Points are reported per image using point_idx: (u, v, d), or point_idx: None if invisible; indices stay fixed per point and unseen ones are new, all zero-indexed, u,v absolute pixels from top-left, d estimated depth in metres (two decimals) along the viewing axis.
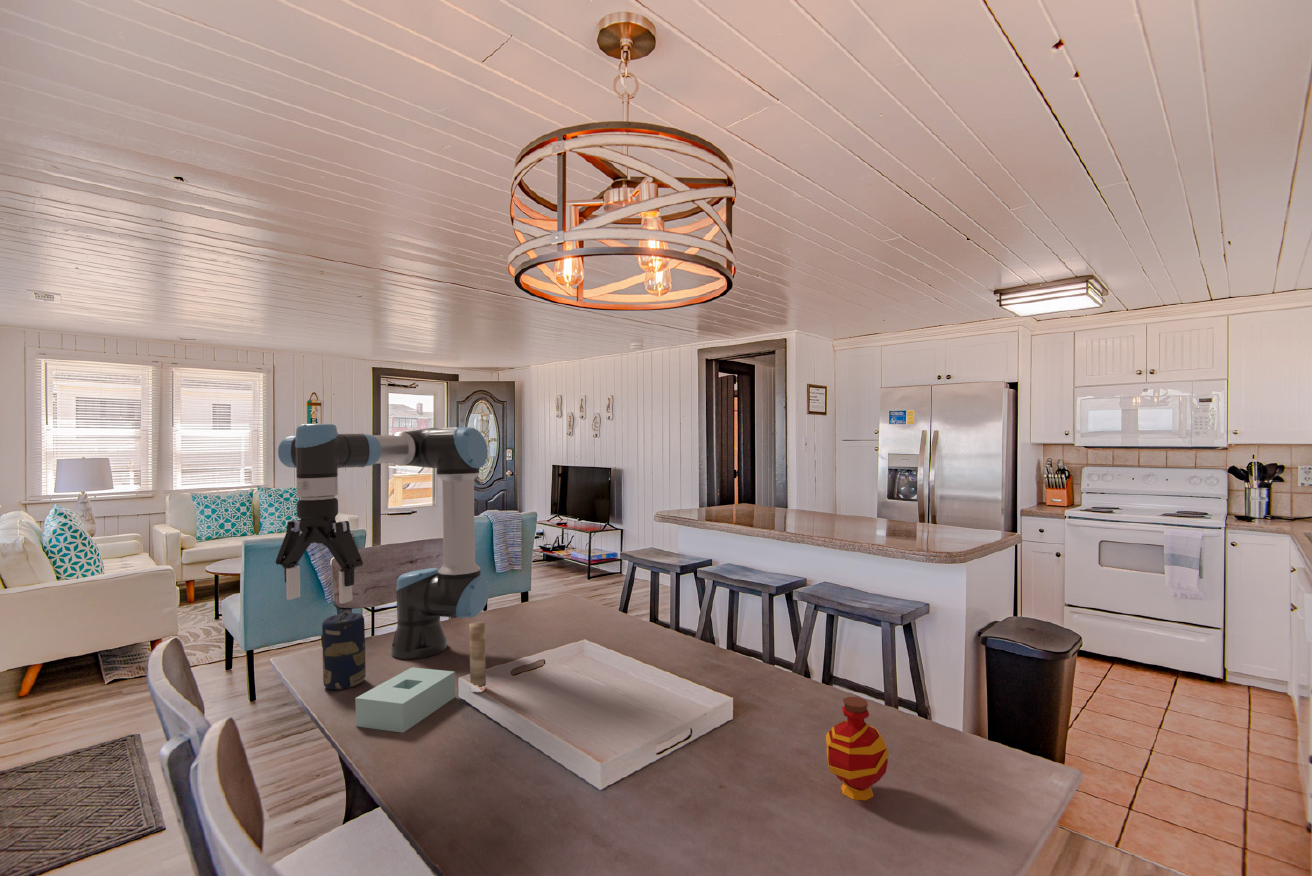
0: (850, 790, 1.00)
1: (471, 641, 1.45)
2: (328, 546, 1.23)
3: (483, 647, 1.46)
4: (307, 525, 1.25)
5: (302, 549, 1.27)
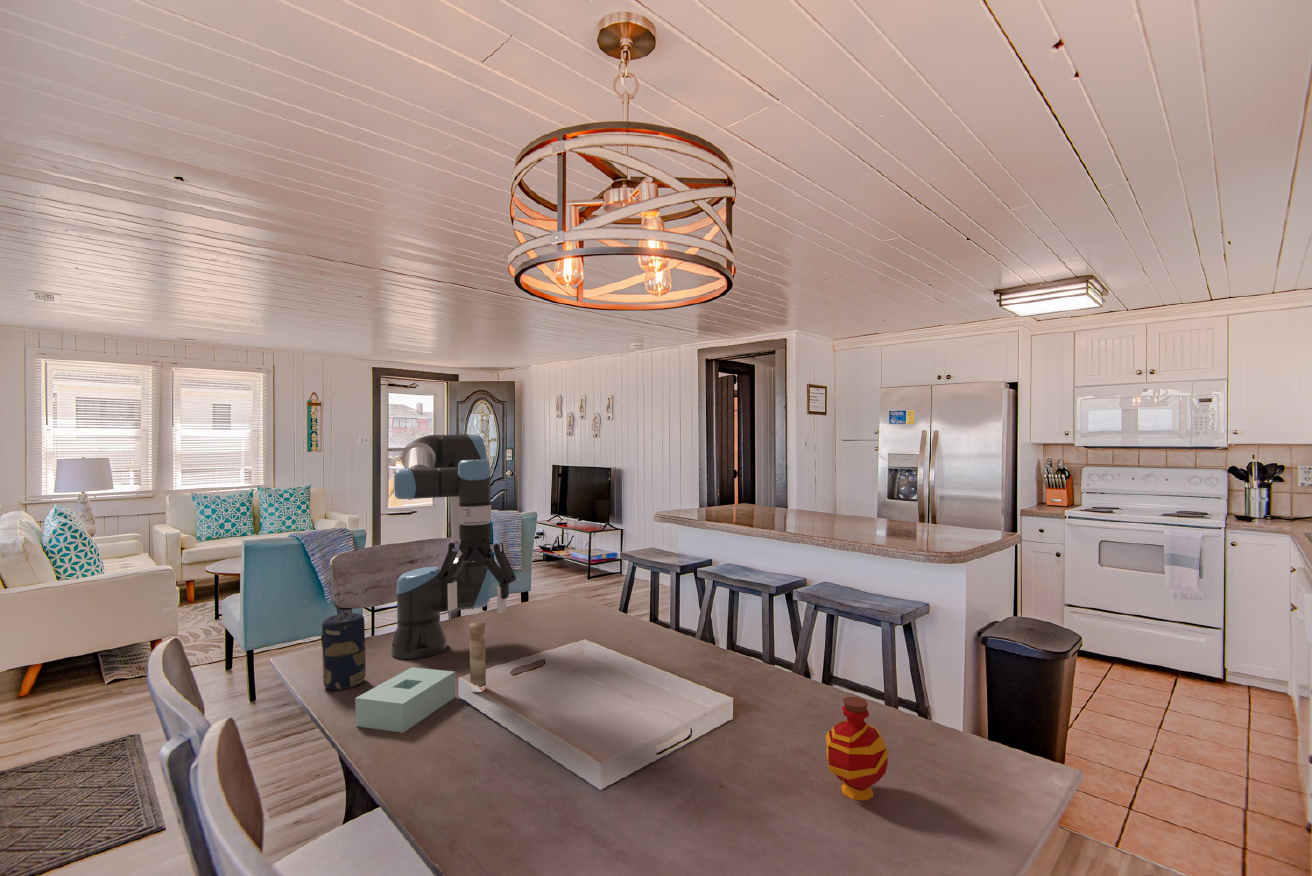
0: (850, 790, 1.00)
1: (471, 641, 1.45)
2: (487, 564, 1.44)
3: (483, 647, 1.46)
4: (467, 546, 1.46)
5: (461, 567, 1.48)
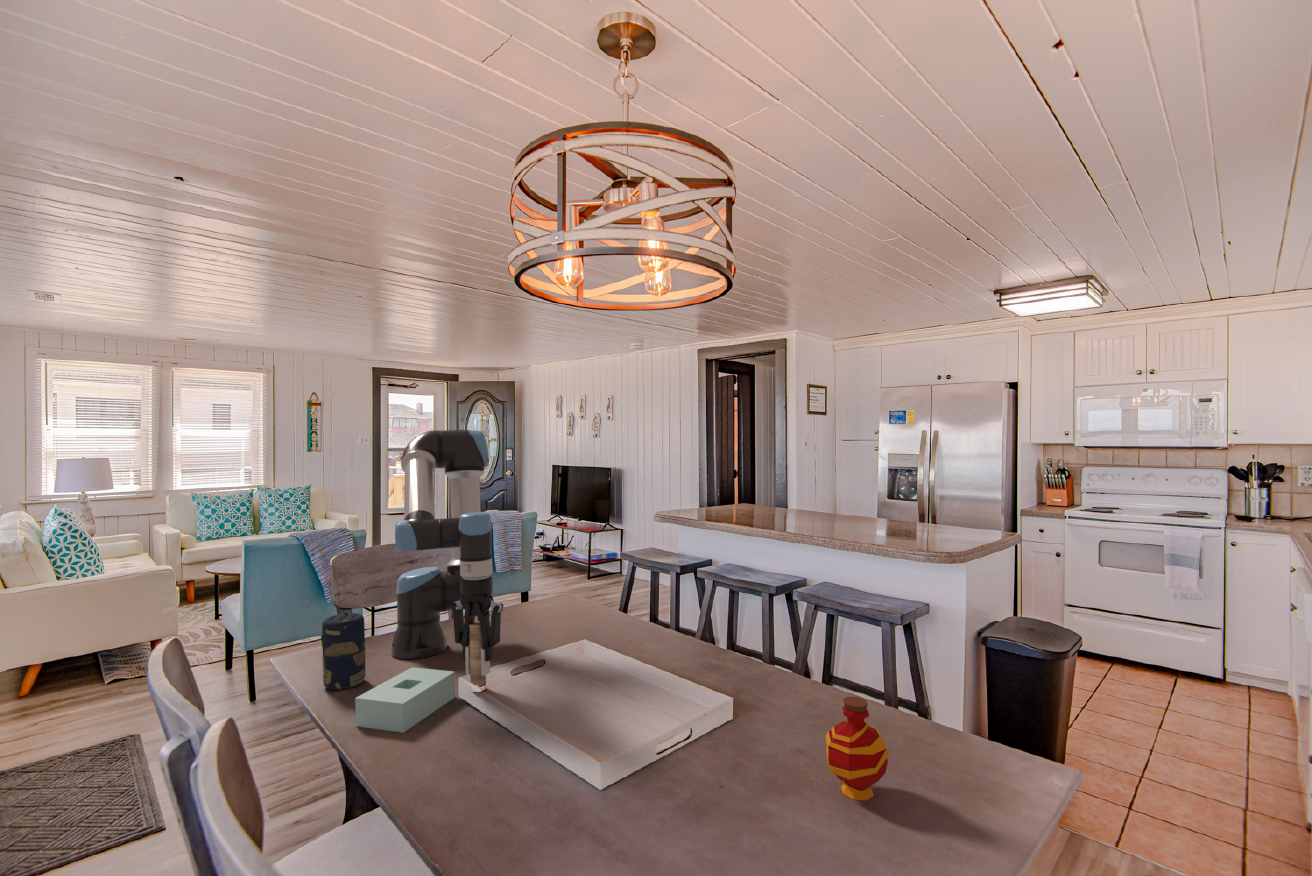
0: (850, 790, 1.00)
1: (471, 641, 1.45)
2: (480, 622, 1.45)
3: None
4: (467, 597, 1.46)
5: None
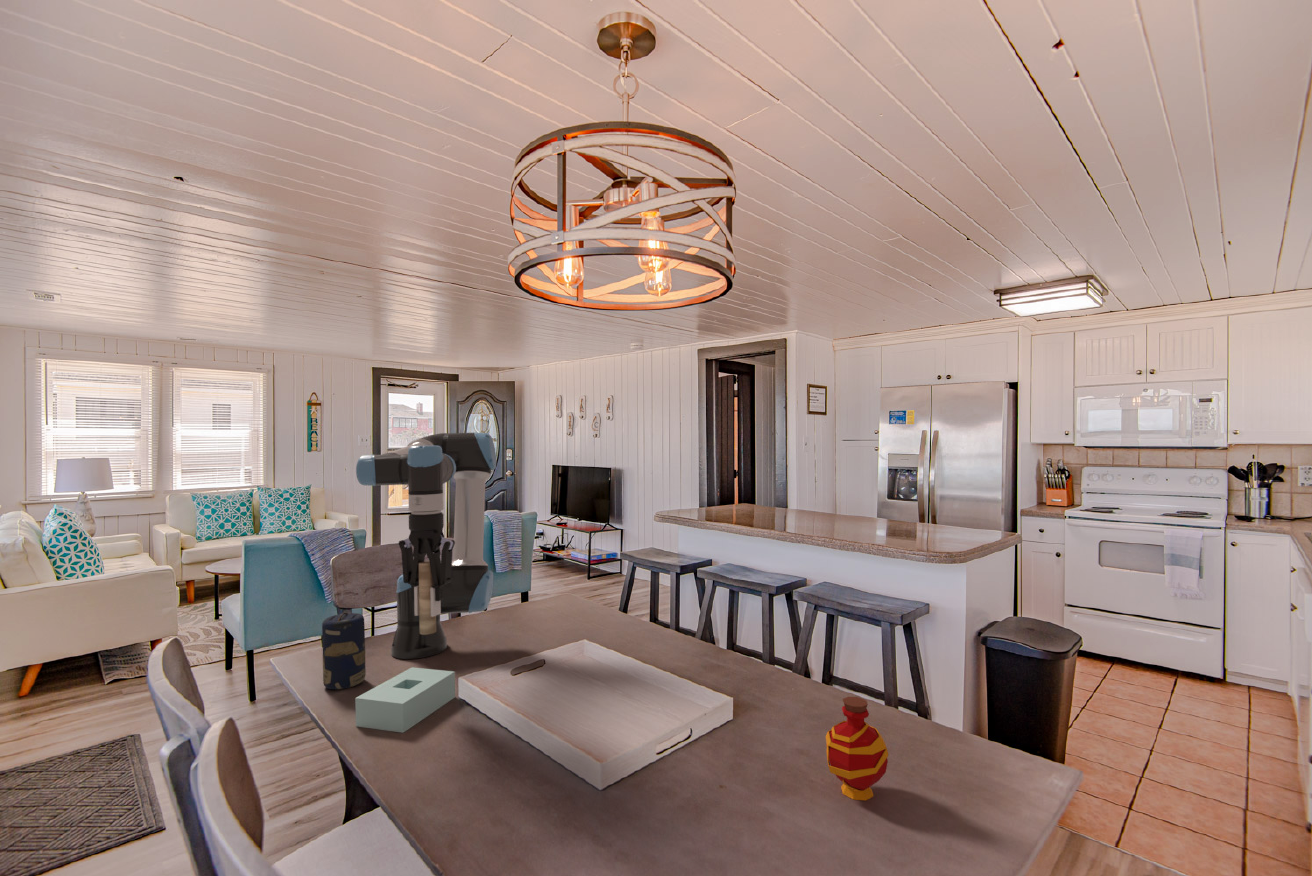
0: (850, 790, 1.00)
1: (420, 580, 1.37)
2: (430, 559, 1.37)
3: None
4: (416, 534, 1.38)
5: None
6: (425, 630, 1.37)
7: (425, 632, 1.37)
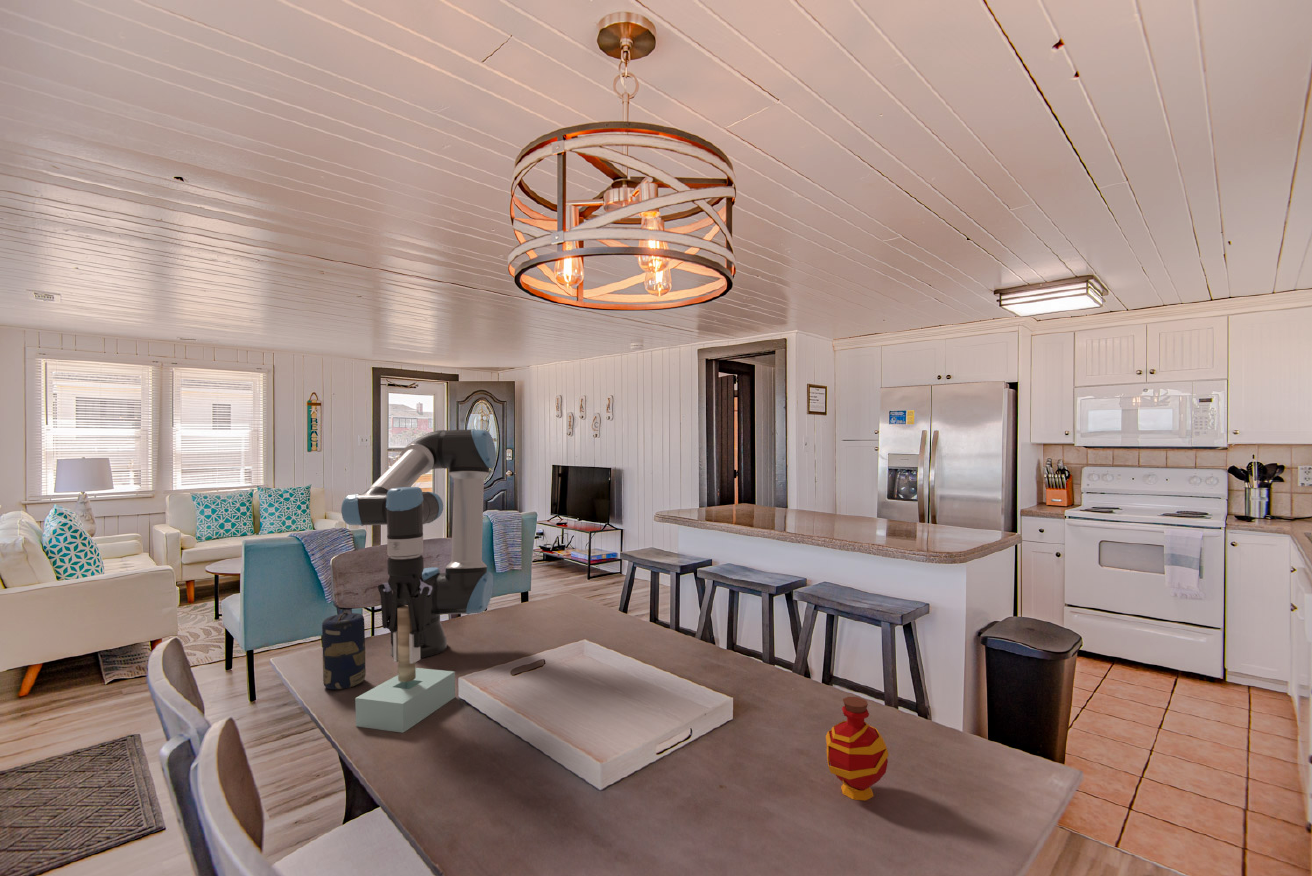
0: (850, 790, 1.00)
1: (399, 626, 1.34)
2: (409, 605, 1.34)
3: None
4: (395, 578, 1.35)
5: None
6: (403, 677, 1.33)
7: (403, 679, 1.33)
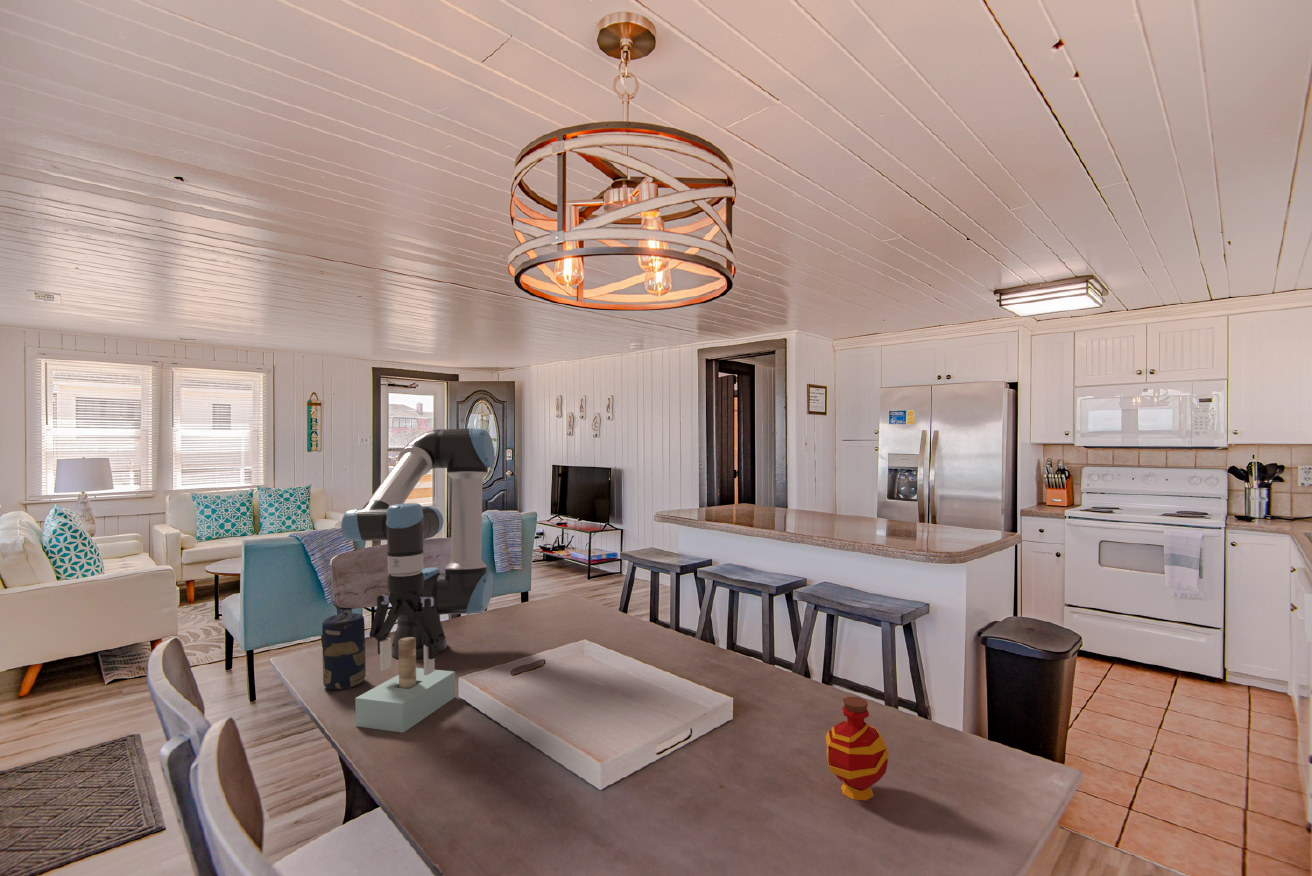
0: (850, 790, 1.00)
1: (400, 658, 1.34)
2: (415, 620, 1.33)
3: (413, 665, 1.35)
4: (396, 597, 1.35)
5: (393, 621, 1.37)
6: None
7: None
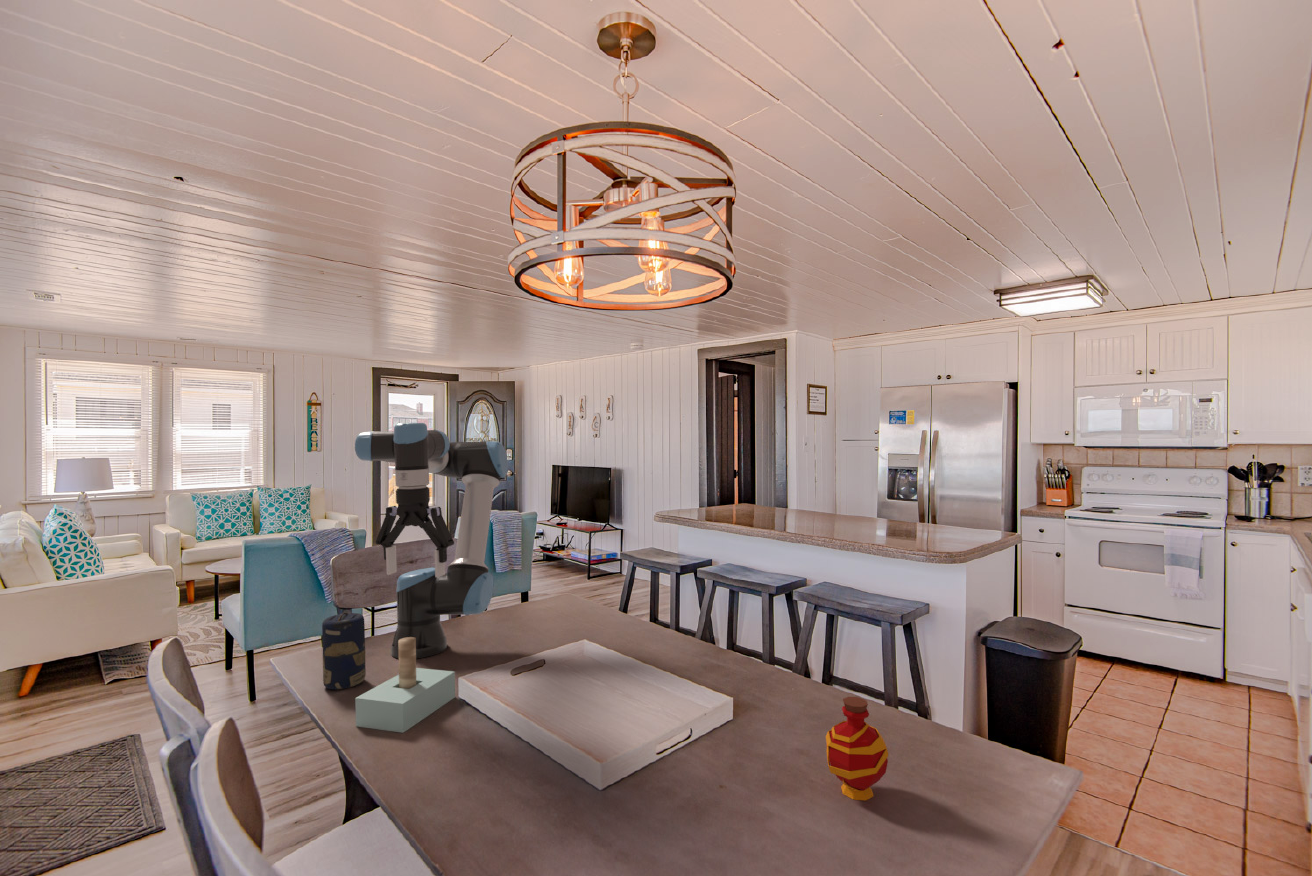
0: (850, 790, 1.00)
1: (400, 658, 1.34)
2: (424, 528, 1.43)
3: (413, 665, 1.35)
4: (404, 510, 1.44)
5: (399, 531, 1.47)
6: None
7: None
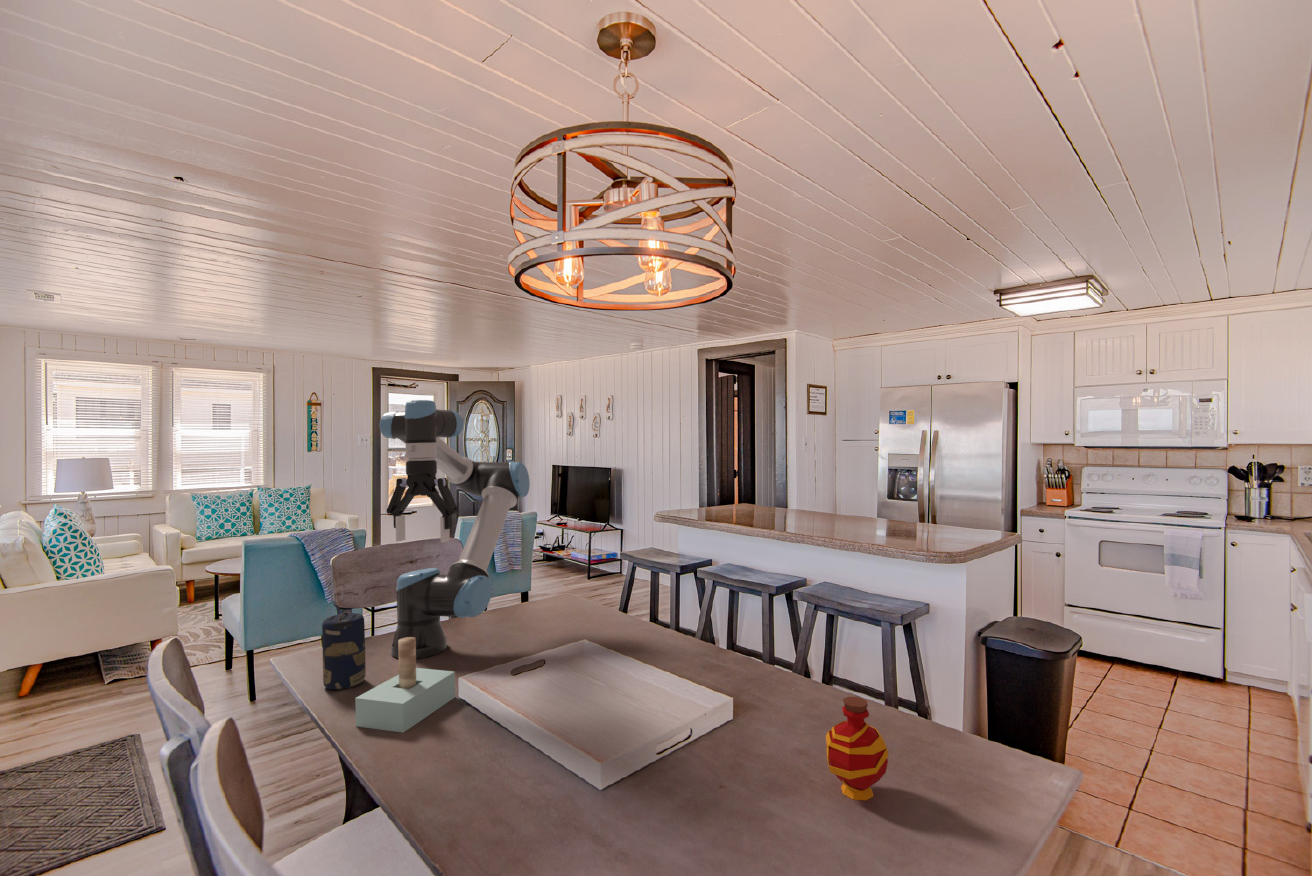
0: (850, 790, 1.00)
1: (400, 658, 1.34)
2: (431, 497, 1.55)
3: (413, 665, 1.35)
4: (413, 481, 1.56)
5: (408, 501, 1.58)
6: None
7: None
